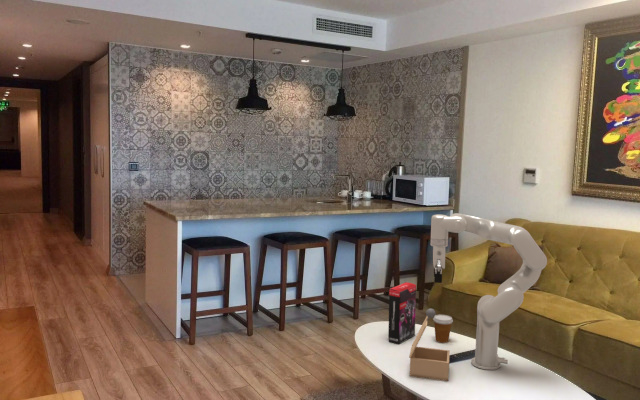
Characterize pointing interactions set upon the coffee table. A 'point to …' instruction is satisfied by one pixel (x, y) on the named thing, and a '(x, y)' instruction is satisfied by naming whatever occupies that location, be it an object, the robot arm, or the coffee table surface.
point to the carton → (430, 363)
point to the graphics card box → (402, 312)
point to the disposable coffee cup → (442, 327)
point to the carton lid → (422, 329)
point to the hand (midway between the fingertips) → (437, 279)
